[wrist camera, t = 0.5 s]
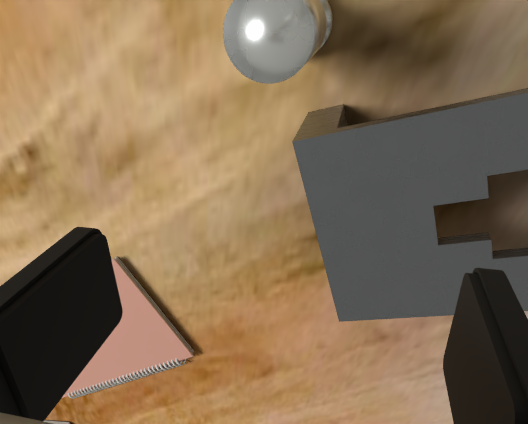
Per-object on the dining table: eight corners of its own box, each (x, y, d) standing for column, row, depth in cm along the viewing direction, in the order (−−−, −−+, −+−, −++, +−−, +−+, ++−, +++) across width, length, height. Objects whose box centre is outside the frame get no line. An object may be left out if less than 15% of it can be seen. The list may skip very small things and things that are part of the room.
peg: (324, -24, 30) (300, -31, 21) (338, 46, 32) (322, 71, 23) (261, -3, 32) (211, 0, 22) (278, 63, 34) (238, 92, 24)
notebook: (71, 393, 65) (63, 404, 63) (-5, 315, 60) (-16, 324, 58) (202, 352, 53) (197, 364, 52) (121, 250, 49) (112, 260, 47)
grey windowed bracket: (622, 40, 28) (702, 56, 21) (609, 240, 34) (667, 302, 28) (308, 112, 35) (292, 141, 28) (345, 267, 42) (339, 321, 35)
